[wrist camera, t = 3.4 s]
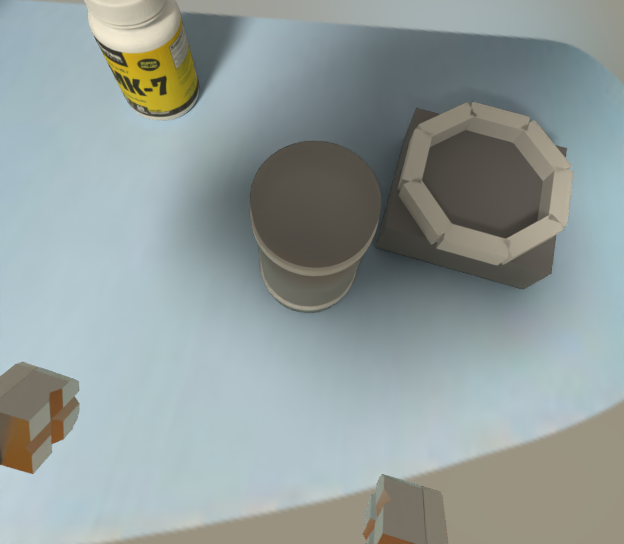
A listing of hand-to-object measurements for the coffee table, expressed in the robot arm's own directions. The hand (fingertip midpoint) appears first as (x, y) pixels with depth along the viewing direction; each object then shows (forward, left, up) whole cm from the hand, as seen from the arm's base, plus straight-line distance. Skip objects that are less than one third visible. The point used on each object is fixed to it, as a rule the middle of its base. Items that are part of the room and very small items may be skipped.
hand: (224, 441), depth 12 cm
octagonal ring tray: (+8, +16, -12) cm, 22 cm away
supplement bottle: (-13, +18, -13) cm, 25 cm away
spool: (0, +9, -12) cm, 16 cm away
